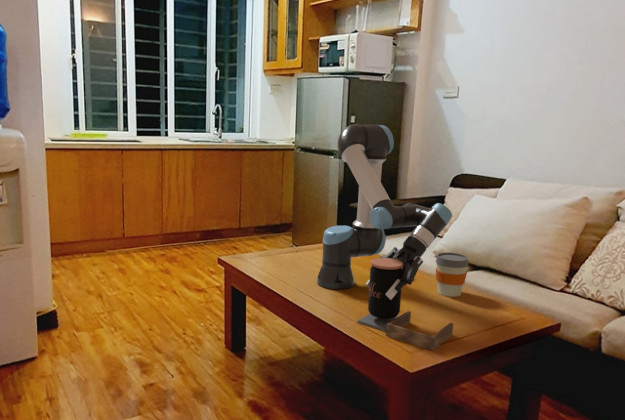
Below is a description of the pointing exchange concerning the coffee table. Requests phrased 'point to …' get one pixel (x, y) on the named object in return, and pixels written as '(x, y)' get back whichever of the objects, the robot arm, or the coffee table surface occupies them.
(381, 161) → the robot arm
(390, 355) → the coffee table surface
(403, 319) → the walnut holder
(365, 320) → the charcoal mat
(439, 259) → the reusable coffee cup
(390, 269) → the coffee jar
